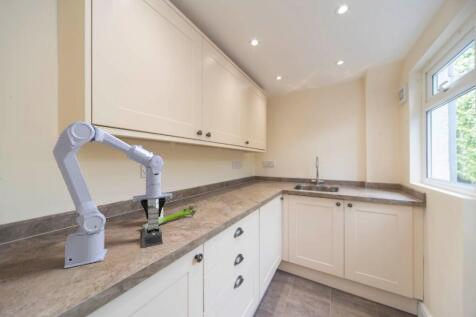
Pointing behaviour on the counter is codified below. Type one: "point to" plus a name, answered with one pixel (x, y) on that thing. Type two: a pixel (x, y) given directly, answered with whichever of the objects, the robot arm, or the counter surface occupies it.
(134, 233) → the counter surface
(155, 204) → the syrup box
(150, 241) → the stand
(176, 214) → the leek
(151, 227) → the column
